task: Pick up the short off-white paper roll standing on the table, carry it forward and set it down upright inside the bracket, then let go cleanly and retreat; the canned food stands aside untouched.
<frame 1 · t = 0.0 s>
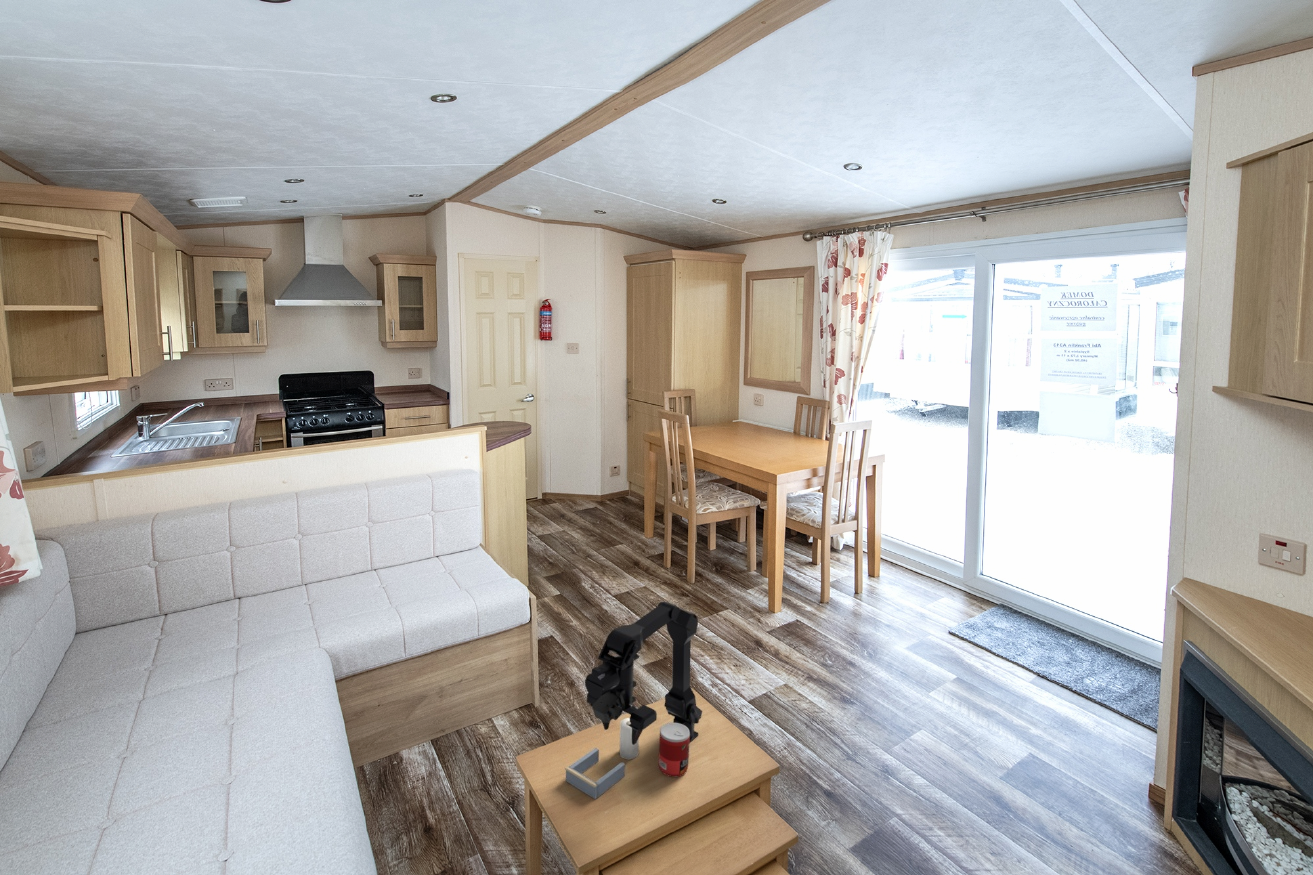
hand: (620, 736, 170), 15 cm above the table, fingers open, 9 cm apart
canned food: (673, 768, 182), on the table
roll: (629, 752, 187), on the table
bracket: (596, 777, 177), on the table
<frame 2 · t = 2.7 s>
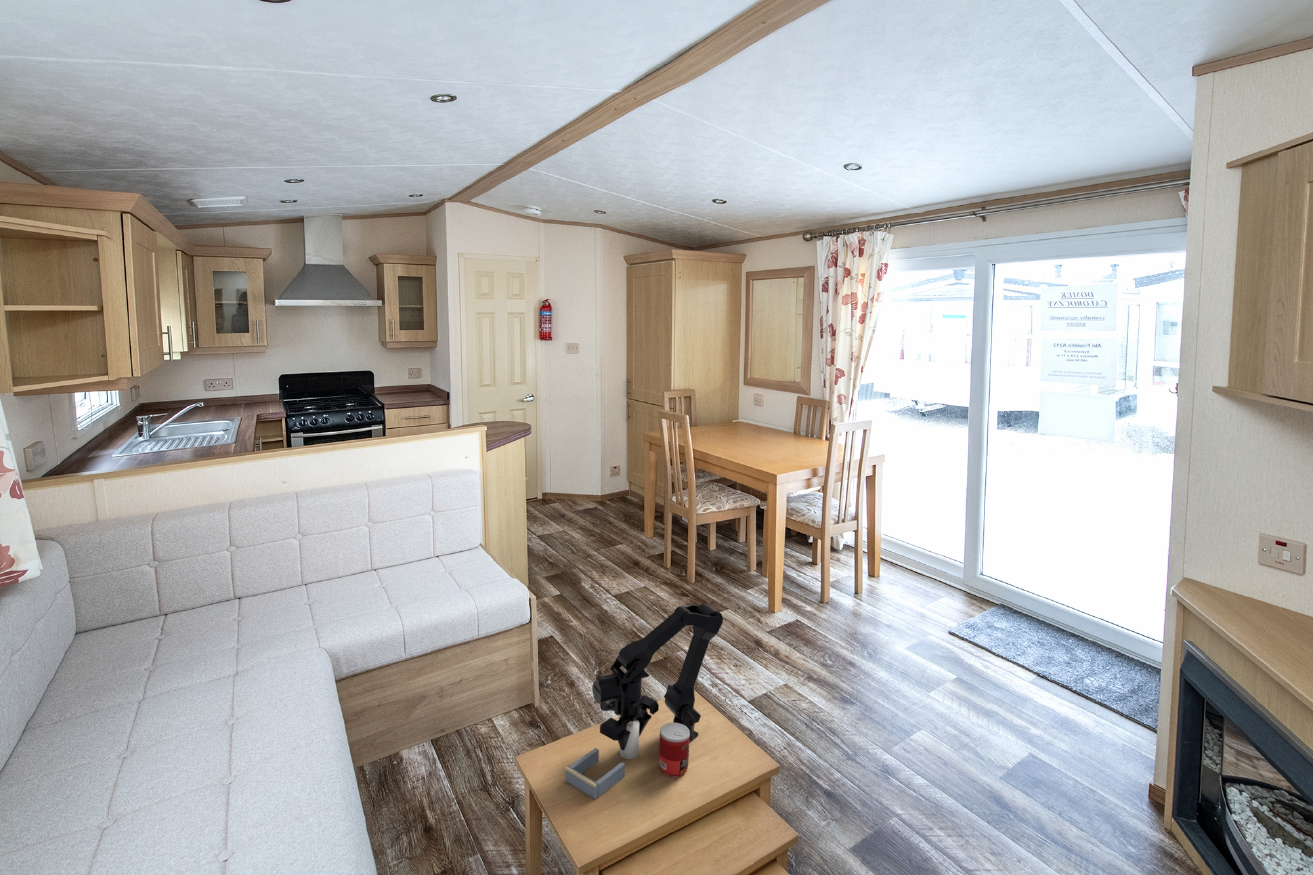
hand: (629, 744, 187), 3 cm above the table, fingers closed on roll, 5 cm apart
roll: (629, 752, 187), on the table, touching gripper
everything else where it was.
when the fingers open (4 cm above the table, at t = 7.4 s): roll drops 1 cm, on the table.
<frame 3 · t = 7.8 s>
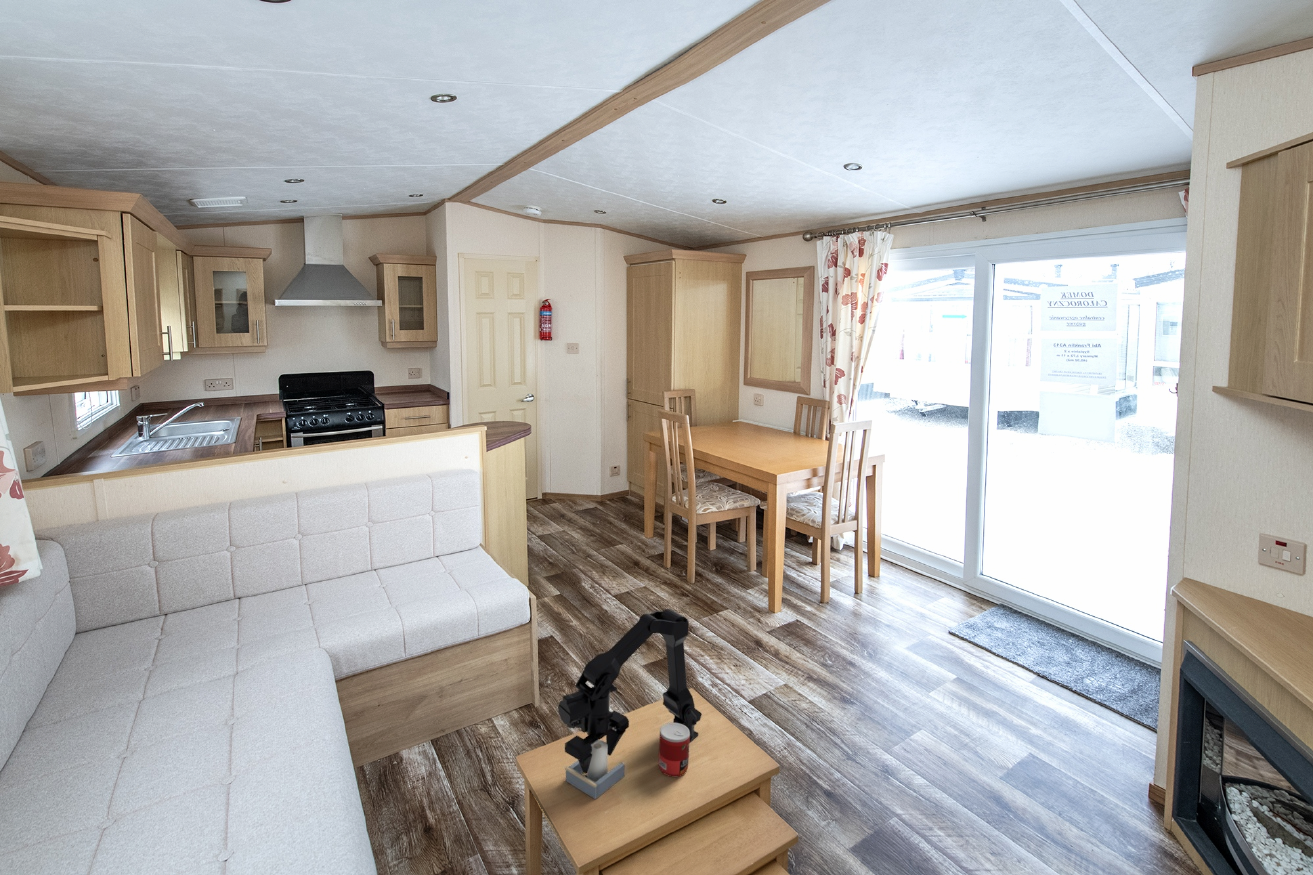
hand: (597, 763, 176), 4 cm above the table, fingers open, 9 cm apart
roll: (597, 777, 177), on the table
everything else where it was.
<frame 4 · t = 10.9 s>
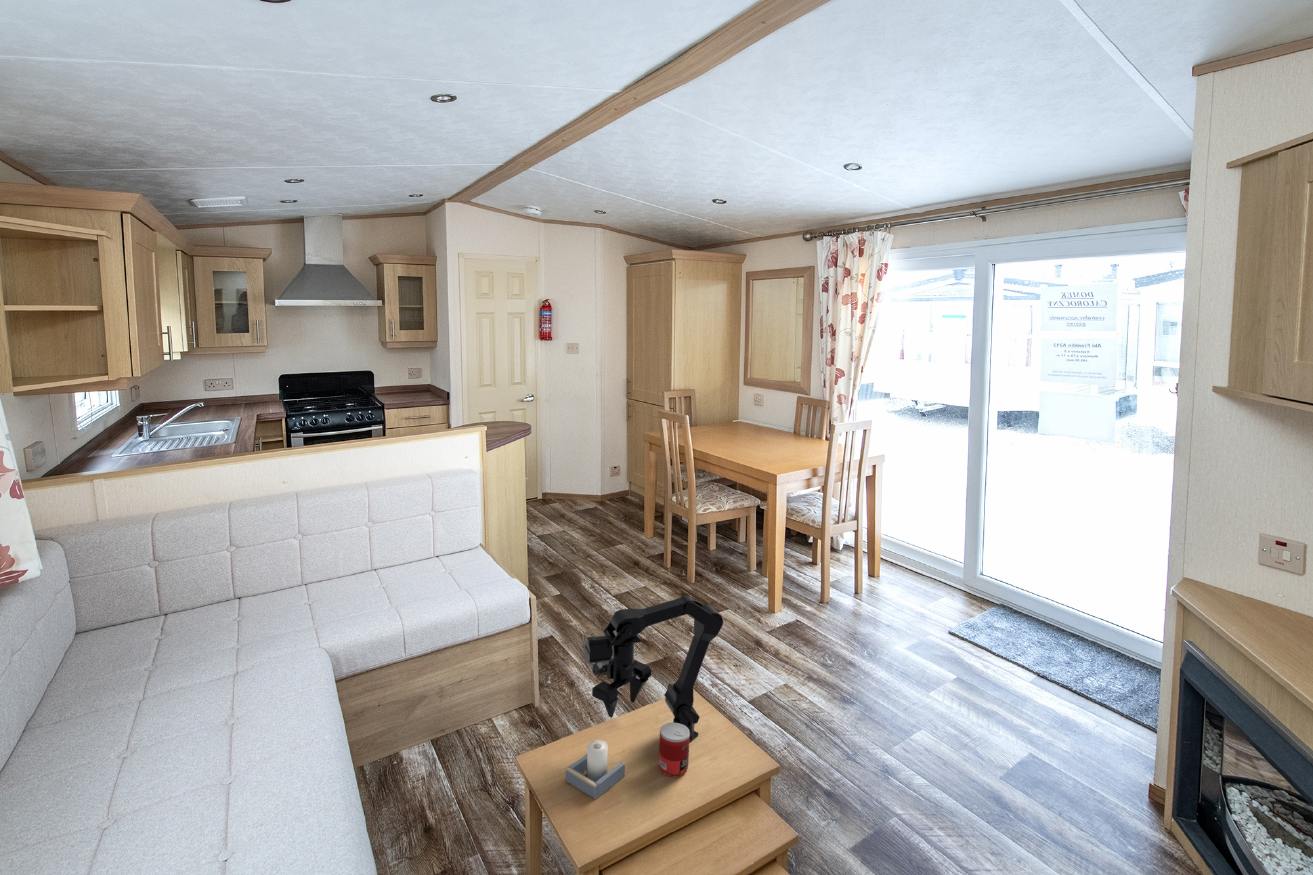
hand: (621, 709, 187), 12 cm above the table, fingers open, 9 cm apart
nothing on the table moved.
at the end: roll 0.1 cm from the bracket (horizontally); roll tilted 1°; the gripper is holding nothing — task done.
